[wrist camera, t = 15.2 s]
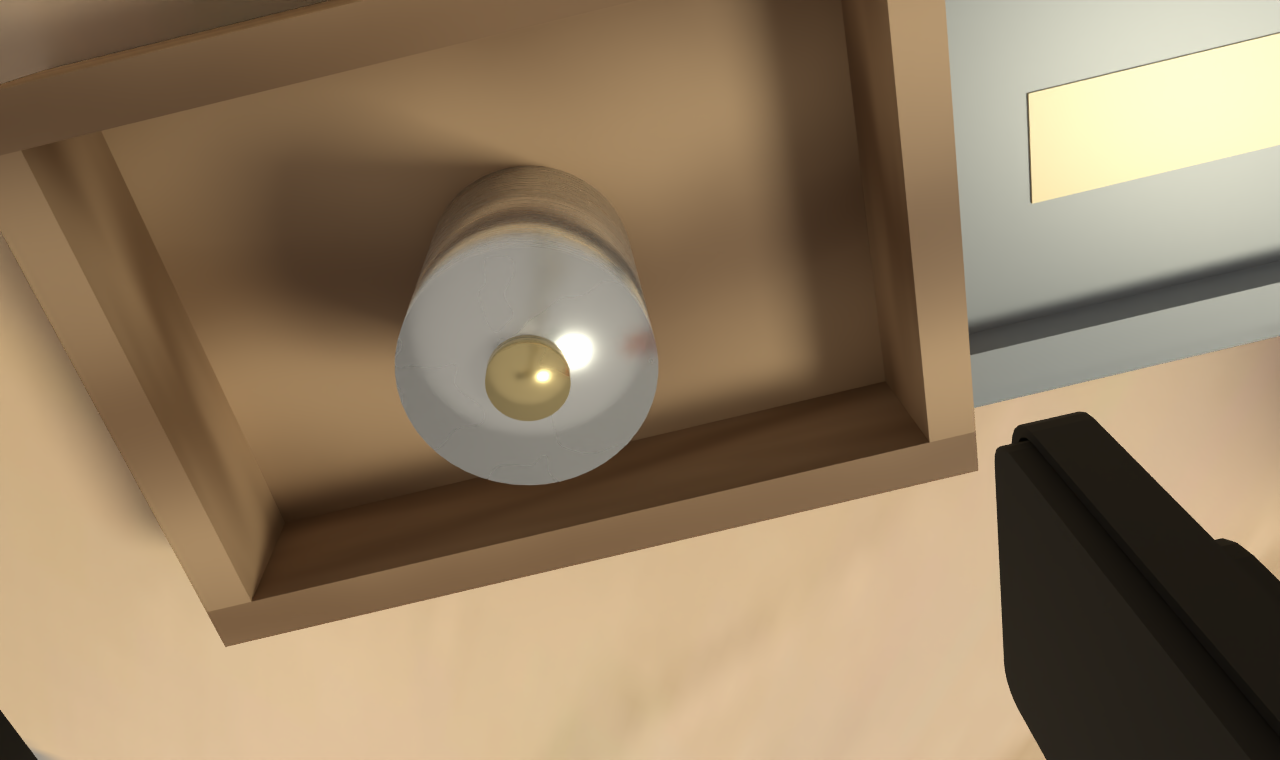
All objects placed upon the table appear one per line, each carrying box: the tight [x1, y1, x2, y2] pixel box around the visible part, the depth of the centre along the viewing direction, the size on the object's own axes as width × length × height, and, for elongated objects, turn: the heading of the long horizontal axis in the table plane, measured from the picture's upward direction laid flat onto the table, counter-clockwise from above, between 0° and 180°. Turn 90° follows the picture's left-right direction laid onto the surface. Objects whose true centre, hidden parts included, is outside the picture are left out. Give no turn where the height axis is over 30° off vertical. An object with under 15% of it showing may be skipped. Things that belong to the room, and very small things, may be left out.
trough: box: [0, 0, 978, 647], centre depth 20 cm, size 12×17×4 cm
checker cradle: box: [945, 0, 1280, 408], centre depth 21 cm, size 12×14×2 cm
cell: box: [395, 166, 658, 485], centre depth 19 cm, size 4×4×6 cm
